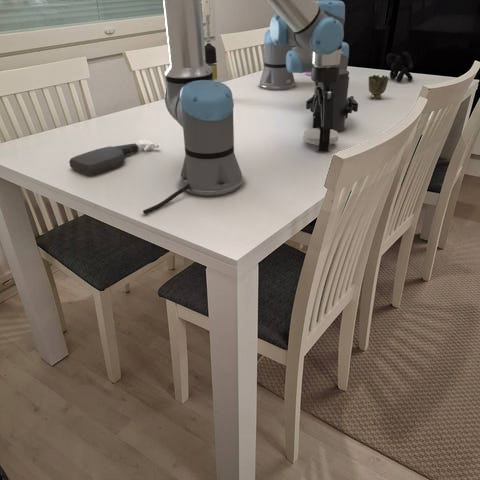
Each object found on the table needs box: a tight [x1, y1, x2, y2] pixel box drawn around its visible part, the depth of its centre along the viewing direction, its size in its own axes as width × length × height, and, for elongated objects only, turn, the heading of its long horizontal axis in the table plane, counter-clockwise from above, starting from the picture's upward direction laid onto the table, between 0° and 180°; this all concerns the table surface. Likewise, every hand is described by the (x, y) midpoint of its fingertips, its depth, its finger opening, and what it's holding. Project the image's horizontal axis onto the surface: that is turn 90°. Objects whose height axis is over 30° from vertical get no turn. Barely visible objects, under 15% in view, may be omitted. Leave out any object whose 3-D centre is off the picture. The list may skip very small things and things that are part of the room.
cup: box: [368, 74, 390, 99], centre depth 173 cm, size 8×7×8 cm
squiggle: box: [385, 51, 414, 83], centre depth 198 cm, size 11×10×15 cm
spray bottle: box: [68, 139, 160, 177], centre depth 124 cm, size 3×11×24 cm
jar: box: [320, 69, 350, 133], centre depth 141 cm, size 9×9×18 cm
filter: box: [204, 14, 218, 81], centre depth 171 cm, size 6×6×30 cm
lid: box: [302, 127, 339, 146], centre depth 131 cm, size 10×10×2 cm
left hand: (319, 144), depth 132 cm, fingers closed on lid, 10 cm apart
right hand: (330, 113), depth 138 cm, fingers closed on jar, 9 cm apart
